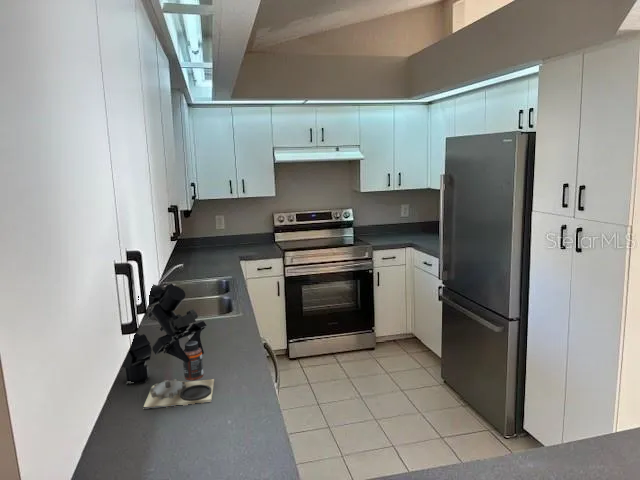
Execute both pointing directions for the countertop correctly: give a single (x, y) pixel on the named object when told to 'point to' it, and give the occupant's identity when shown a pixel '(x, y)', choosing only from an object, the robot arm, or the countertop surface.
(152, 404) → the gear board
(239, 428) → the countertop surface
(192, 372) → the supplement bottle
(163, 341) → the robot arm
